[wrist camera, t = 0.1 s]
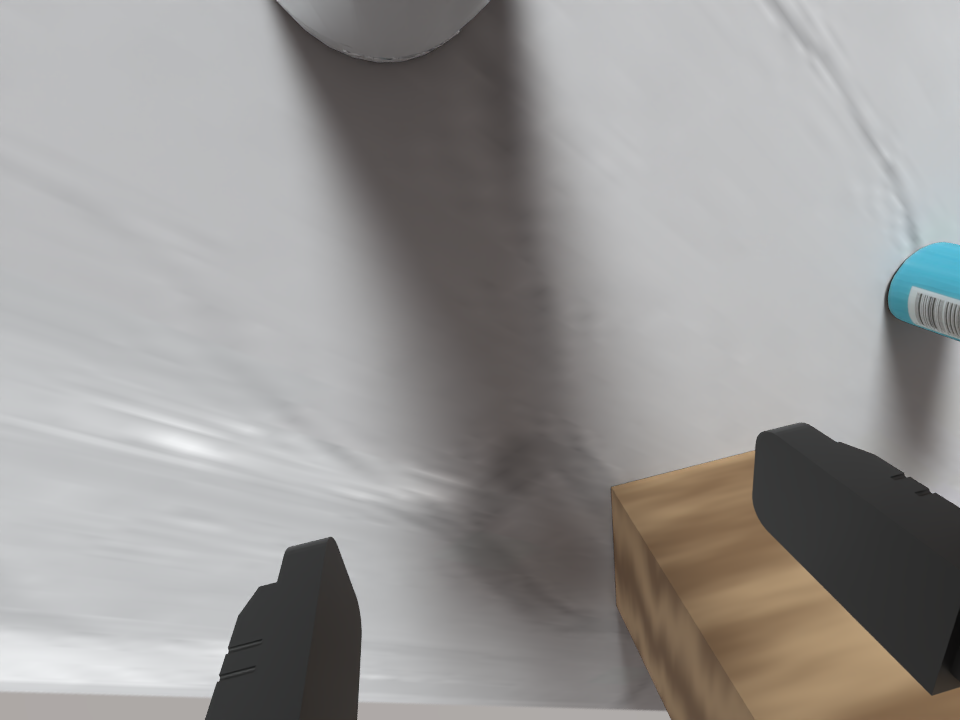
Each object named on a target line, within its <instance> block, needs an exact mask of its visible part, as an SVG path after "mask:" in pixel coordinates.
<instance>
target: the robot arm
mask: <svg viewBox="0 0 960 720" xmlns="http://www.w3.org/2000/svg"><path fill="white" fill-rule="evenodd" d="M276 1H277V2H278V3H279V4H280V5H281V6H282V7H283V8H284V9H285V10H286V11H287V12H288V13H289V14H290V15H291V16H292V17H293V18H294V19H295V20H296V21H297V22H298V23H299V24H300V25H301V26H302V28H303V29H304V30H306V31H307V32H308V33H310V34H311V35H313V36H314V37H315V38H317V39H318V40H320V41H321V42H323V43H324V44H325V45H327V46H328V47H330V48H333V49H335V50H337V51H339V52H342V53H344V54H346V55H349V56H351V57H353V58H358V59H363V60H368V61H373V62H400V61H406V60H409V59H412V58H416V57H419V56H422V55H426V54H427V53H429V52H431V51H432V50H434V49H436V48H437V47H440V46H442V45H443V44H444V43H446V42H447V41H449V40H450V39H451V38H453V37H454V36H456V35H457V34H458V33H459V32H460V29H461V28H462V27H463V26H464V25H465V24H466V23H468V22H469V21H470V20H471V19H472V18H473V17H474V16H475V15H476V14H477V13H478V12H479V11H480V10H481V9H482V8H484V7H485V6H486V5H487V4H488V3H489V2H490V1H491V0H276ZM752 501H753V506H754V509H755V512H756V515H757V517H758V519H759V520H760V522H761V524H762V525H763V526H764V528H765V529H766V530H767V531H768V532H769V533H770V534H771V535H772V536H773V537H774V538H775V539H776V540H777V541H778V542H779V543H780V544H781V545H782V546H783V547H784V548H785V549H786V550H787V551H788V552H789V553H790V554H791V555H792V556H793V557H794V558H795V559H796V560H797V561H798V562H799V563H800V564H801V565H802V566H803V567H804V568H805V569H806V570H807V571H808V572H809V573H810V574H811V575H812V576H813V577H814V578H815V579H816V580H817V581H818V582H819V583H820V584H821V585H822V586H823V587H824V588H825V589H826V590H827V591H828V592H829V593H830V594H831V595H832V596H833V597H834V598H835V599H836V600H837V601H838V602H839V603H840V604H841V606H842V607H843V608H844V609H845V610H846V611H847V612H848V613H849V614H850V615H851V616H852V617H853V618H854V619H855V620H856V621H857V622H858V623H859V624H860V625H861V626H862V627H863V628H864V629H865V630H866V631H867V632H868V633H869V634H870V635H871V636H872V637H873V638H874V639H875V640H876V641H877V642H878V643H879V644H880V645H881V646H882V647H883V648H884V649H885V650H886V651H887V652H888V653H889V654H890V655H891V656H892V657H893V658H894V659H895V660H896V661H897V662H898V663H899V664H900V665H901V666H902V667H903V668H904V669H905V670H906V671H907V672H908V673H909V674H910V675H911V676H912V677H913V678H914V679H915V680H916V681H917V682H918V683H919V684H920V685H921V686H922V687H923V688H924V689H925V690H926V691H927V692H928V693H929V694H930V695H931V696H933V695H936V694H940V693H943V692H946V691H949V690H953V689H956V688H959V687H960V508H959V507H957V506H956V505H954V504H953V503H951V502H949V501H948V500H946V499H945V498H943V497H941V496H940V495H938V494H937V493H933V494H932V493H931V492H930V491H929V488H927V487H925V486H924V485H922V484H921V483H919V482H917V481H916V480H914V479H913V478H911V477H908V478H906V477H905V475H904V473H903V472H902V471H900V470H898V469H897V468H895V467H894V466H892V465H890V464H889V463H887V462H886V461H884V460H882V459H881V458H879V457H878V456H876V455H874V454H871V453H869V452H866V451H863V450H860V449H858V448H855V447H852V446H850V445H847V444H844V443H841V442H838V443H837V442H835V441H834V440H832V439H831V438H829V437H828V436H826V435H825V434H823V433H821V432H820V431H818V430H817V429H815V428H814V427H812V426H810V425H809V424H806V423H796V424H792V425H788V426H784V427H780V428H776V429H772V430H768V431H764V432H761V433H760V434H759V435H758V437H757V440H756V447H755V461H754V475H753V490H752ZM361 638H362V628H361V617H360V610H359V605H358V601H357V598H356V595H355V592H354V589H353V587H352V584H351V581H350V578H349V576H348V573H347V570H346V568H345V565H344V562H343V559H342V557H341V554H340V551H339V549H338V546H337V543H336V542H335V540H334V538H332V537H328V538H324V539H320V540H316V541H312V542H308V543H304V544H300V545H296V546H292V547H289V548H287V549H286V551H285V554H284V557H283V561H282V565H281V569H280V573H279V577H278V581H277V582H276V583H272V584H268V585H264V586H260V587H259V588H258V589H257V591H256V592H255V593H254V595H253V596H252V598H251V599H250V600H249V602H248V603H247V605H246V606H245V607H244V609H243V610H242V612H241V613H240V614H239V616H238V618H237V621H236V625H235V628H234V631H233V634H232V637H231V640H230V643H229V646H228V649H229V653H228V654H226V656H225V659H224V662H223V665H222V668H221V671H220V674H219V676H220V681H219V682H217V684H216V687H215V690H214V693H213V696H212V699H211V703H210V706H209V709H208V712H207V715H206V718H205V720H357V712H358V711H357V710H358V694H359V675H360V656H361Z"/></svg>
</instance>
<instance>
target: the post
mask: <svg viewBox="0 0 960 720" xmlns="http://www.w3.org/2000/svg"><path fill="white" fill-rule="evenodd" d="M754 461H755V451H751V452H747V453H743V454H739V455H735V456H731V457H727V458H723V459H719V460H715V461H711V462H707V463H704V464H700V465H696V466H692V467H688V468H684V469H680V470H676V471H672V472H668V473H664V474H660V475H656V476H652V477H648V478H645V479H641V480H637V481H633V482H629V483H625V484H621V485H617V486H613V487H611V496H612V518H613V540H614V561H615V583H616V605H617V608H618V610H619V612H620V614H621V616H622V618H623V620H624V622H625V624H626V627H627V629H628V631H629V633H630V635H631V637H632V639H633V641H634V643H635V645H636V647H637V649H638V651H639V654H640V656H641V658H642V660H643V662H644V664H645V666H646V668H647V670H648V672H649V674H650V676H651V678H652V681H653V683H654V685H655V687H656V689H657V691H658V693H659V695H660V697H661V699H662V701H663V703H664V706H665V708H666V710H667V712H668V714H669V716H670V718H671V720H960V687H959V688H956V689H953V690H949V691H946V692H943V693H940V694H936V695H933V696H931V695H930V694H929V693H928V692H927V691H926V690H925V689H924V688H923V687H922V686H921V685H920V684H919V683H918V682H917V681H916V680H915V679H914V678H913V677H912V676H911V675H910V674H909V673H908V672H907V671H906V670H905V669H904V668H903V667H902V666H901V665H900V664H899V663H898V662H897V661H896V660H895V659H894V658H893V657H892V656H891V655H890V654H889V653H888V652H887V651H886V650H885V649H884V648H883V647H882V646H881V645H880V644H879V643H878V642H877V641H876V640H875V639H874V638H873V637H872V636H871V635H870V634H869V633H868V632H867V631H866V630H865V629H864V628H863V627H862V626H861V625H860V624H859V623H858V622H857V621H856V620H855V619H854V618H853V617H852V616H851V615H850V614H849V613H848V612H847V611H846V610H845V609H844V608H843V607H842V606H841V604H840V603H839V602H838V601H837V600H836V599H835V598H834V597H833V596H832V595H831V594H830V593H829V592H828V591H827V590H826V589H825V588H824V587H823V586H822V585H821V584H820V583H819V582H818V581H817V580H816V579H815V578H814V577H813V576H812V575H811V574H810V573H809V572H808V571H807V570H806V569H805V568H804V567H803V566H802V565H801V564H800V563H799V562H798V561H797V560H796V559H795V558H794V557H793V556H792V555H791V554H790V553H789V552H788V551H787V550H786V549H785V548H784V547H783V546H782V545H781V544H780V543H779V542H778V541H777V540H776V539H775V538H774V537H773V536H772V535H771V534H770V533H769V532H768V531H767V530H766V529H765V528H764V526H763V525H762V524H761V522H760V520H759V519H758V517H757V515H756V512H755V509H754V506H753V501H752V490H753V475H754Z"/></svg>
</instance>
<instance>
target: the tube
mask: <svg viewBox="0 0 960 720" xmlns="http://www.w3.org/2000/svg"><path fill="white" fill-rule="evenodd" d="M888 305H889V309H890V311H891V313H892V314H893V315H894V316H895V317H896V318H898V319H900V320H902V321H904V322H907V323H910V324H912V325H915V326H918V327H921V328H924V329H926V330H929V331H932V332H935V333H937V334H940V335H943V336H946V337H949V338H952V339H954V340H957V341H960V245H957V244H952V243H946V242H939V243H934V244H931V245H928V246H926V247H923V248H921V249H919V250H918V251H916V252H915V253H913V254H912V255H911V256H910V257H909V258H908V259H906V260H905V262H904V263H903V264H902V266H901V267H900V268H899V270H898V271H897V273H896V274H895V276H894V278H893V279H892V282H891V285H890V289H889V295H888Z"/></svg>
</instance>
